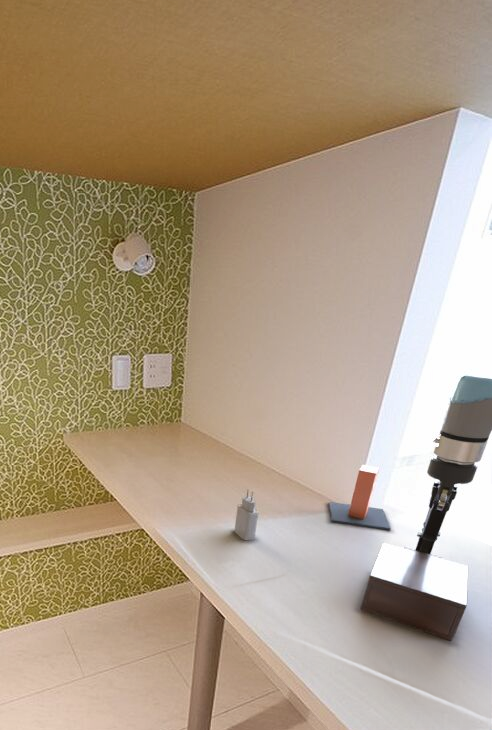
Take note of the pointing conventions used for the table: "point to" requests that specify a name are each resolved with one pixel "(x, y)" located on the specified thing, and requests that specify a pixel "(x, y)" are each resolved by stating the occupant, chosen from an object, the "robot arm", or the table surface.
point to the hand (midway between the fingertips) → (418, 562)
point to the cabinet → (417, 590)
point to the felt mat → (372, 519)
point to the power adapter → (246, 518)
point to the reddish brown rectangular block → (363, 491)
